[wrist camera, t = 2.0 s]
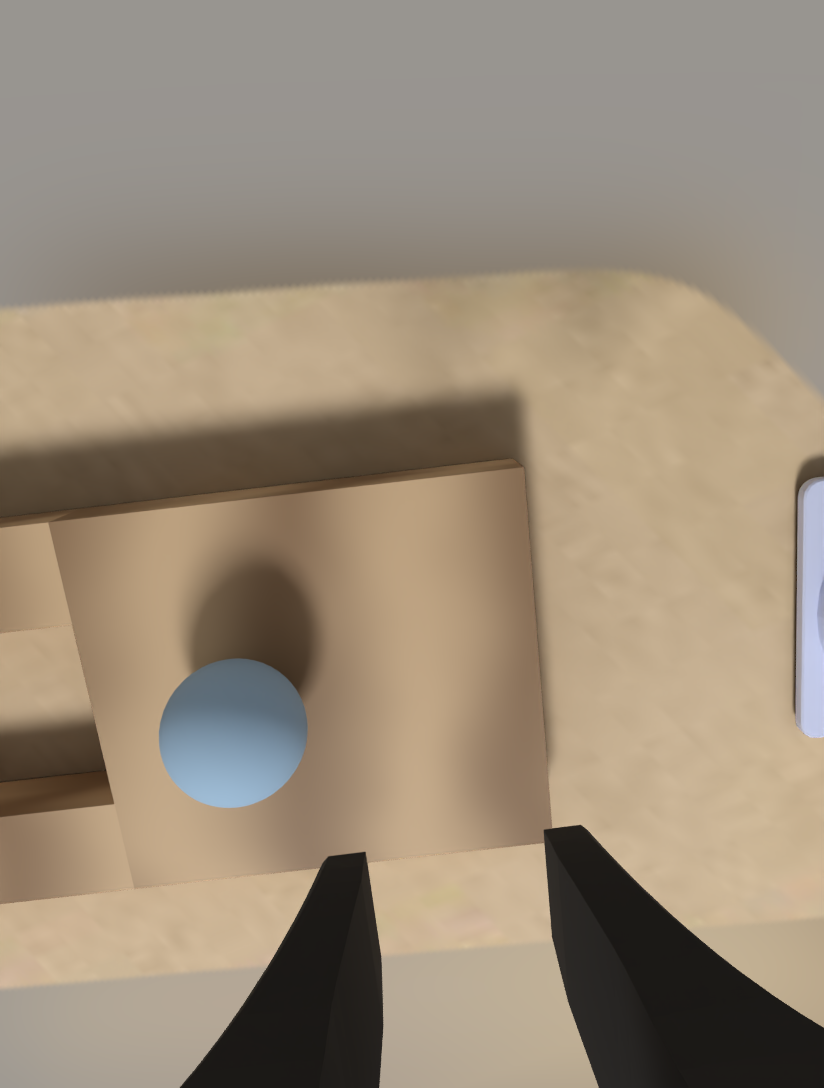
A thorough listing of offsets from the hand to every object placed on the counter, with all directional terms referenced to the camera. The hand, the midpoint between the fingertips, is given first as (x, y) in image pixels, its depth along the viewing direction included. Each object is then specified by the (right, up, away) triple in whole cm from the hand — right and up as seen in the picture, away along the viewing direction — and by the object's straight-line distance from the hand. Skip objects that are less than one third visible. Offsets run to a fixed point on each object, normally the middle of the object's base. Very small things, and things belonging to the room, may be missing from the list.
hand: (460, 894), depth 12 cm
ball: (-5, +1, +6) cm, 8 cm away
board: (-8, +1, +10) cm, 13 cm away
